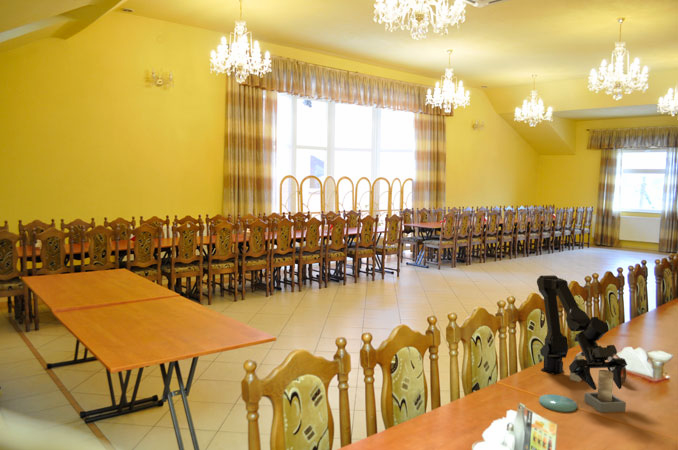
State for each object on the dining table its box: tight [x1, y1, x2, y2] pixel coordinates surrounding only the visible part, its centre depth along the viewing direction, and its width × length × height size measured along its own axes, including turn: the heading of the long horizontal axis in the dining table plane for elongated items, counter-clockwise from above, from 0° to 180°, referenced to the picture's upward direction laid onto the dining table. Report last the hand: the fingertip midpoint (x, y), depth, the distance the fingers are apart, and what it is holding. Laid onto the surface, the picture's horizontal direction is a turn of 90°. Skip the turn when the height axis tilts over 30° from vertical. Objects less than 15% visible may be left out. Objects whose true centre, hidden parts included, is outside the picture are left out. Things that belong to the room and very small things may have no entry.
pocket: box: [583, 391, 627, 413], centre depth 173 cm, size 9×9×3 cm
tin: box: [607, 353, 627, 382], centre depth 200 cm, size 15×3×8 cm, turn 168°
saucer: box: [538, 394, 578, 413], centre depth 174 cm, size 12×12×1 cm
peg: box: [597, 369, 614, 402], centre depth 173 cm, size 4×4×12 cm
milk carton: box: [569, 351, 585, 383], centre depth 198 cm, size 4×7×10 cm, turn 138°
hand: (607, 389), depth 171 cm, fingers open, 9 cm apart
